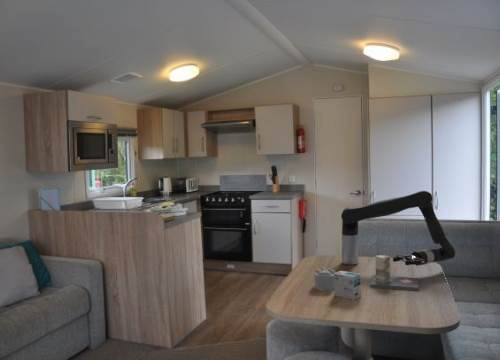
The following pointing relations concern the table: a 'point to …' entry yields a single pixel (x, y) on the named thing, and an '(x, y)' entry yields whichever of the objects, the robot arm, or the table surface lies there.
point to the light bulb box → (347, 285)
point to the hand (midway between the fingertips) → (399, 261)
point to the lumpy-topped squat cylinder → (324, 279)
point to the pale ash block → (382, 268)
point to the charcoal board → (396, 283)
